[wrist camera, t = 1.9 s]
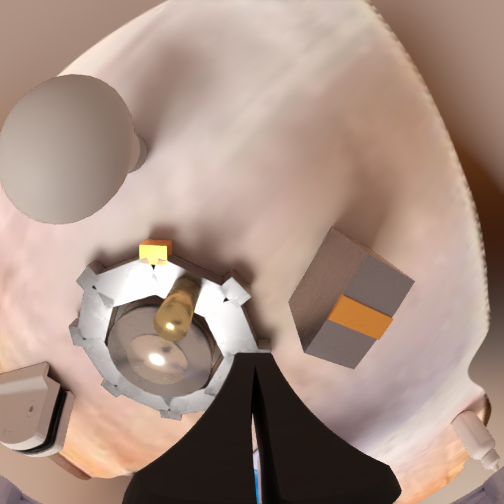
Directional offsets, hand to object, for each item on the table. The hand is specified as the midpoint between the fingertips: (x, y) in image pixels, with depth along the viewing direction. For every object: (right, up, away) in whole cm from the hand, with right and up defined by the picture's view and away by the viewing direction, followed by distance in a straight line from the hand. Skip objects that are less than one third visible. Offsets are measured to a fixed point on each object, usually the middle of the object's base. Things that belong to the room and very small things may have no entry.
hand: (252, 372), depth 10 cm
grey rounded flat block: (-27, -13, +13) cm, 33 cm away
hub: (-7, -2, +10) cm, 12 cm away
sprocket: (-7, -2, +10) cm, 12 cm away
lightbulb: (-8, +11, +6) cm, 15 cm away
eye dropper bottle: (+31, -20, +16) cm, 40 cm away
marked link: (+5, +3, +9) cm, 11 cm away
